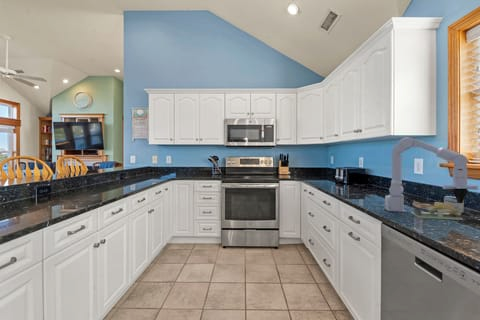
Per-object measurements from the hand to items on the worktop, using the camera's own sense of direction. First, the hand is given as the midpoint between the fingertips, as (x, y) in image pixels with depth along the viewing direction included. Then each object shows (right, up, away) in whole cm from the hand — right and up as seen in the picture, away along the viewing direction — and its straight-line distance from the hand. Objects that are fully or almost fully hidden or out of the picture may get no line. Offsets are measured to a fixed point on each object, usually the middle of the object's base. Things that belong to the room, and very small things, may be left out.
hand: (459, 202), depth 132 cm
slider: (-7, -4, +2) cm, 9 cm away
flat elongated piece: (-10, -4, +3) cm, 12 cm away
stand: (-10, -8, +3) cm, 13 cm away
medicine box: (+8, -8, +13) cm, 17 cm away
